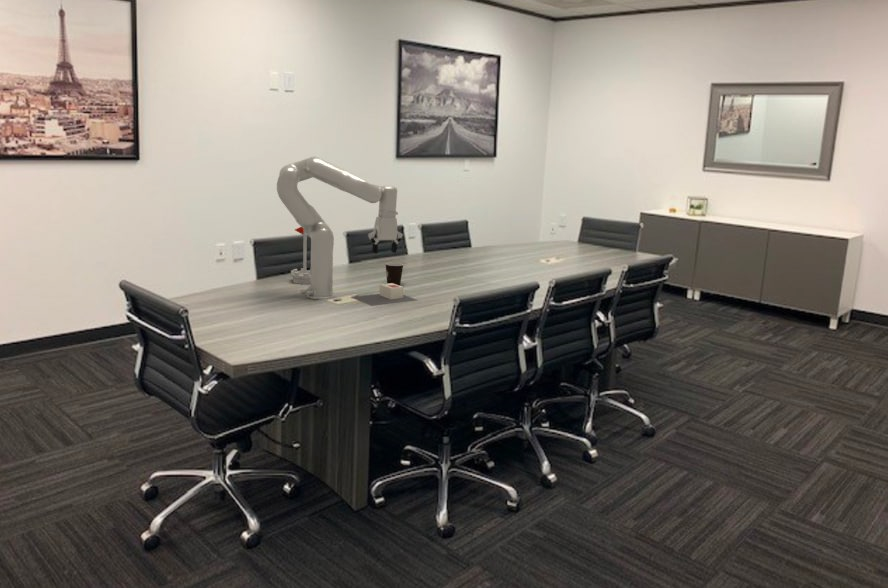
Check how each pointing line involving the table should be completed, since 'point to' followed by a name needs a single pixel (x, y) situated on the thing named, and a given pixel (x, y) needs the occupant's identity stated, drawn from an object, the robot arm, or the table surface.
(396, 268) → the coffee mug
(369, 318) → the table surface
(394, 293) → the card box
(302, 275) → the flag stand
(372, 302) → the mat
